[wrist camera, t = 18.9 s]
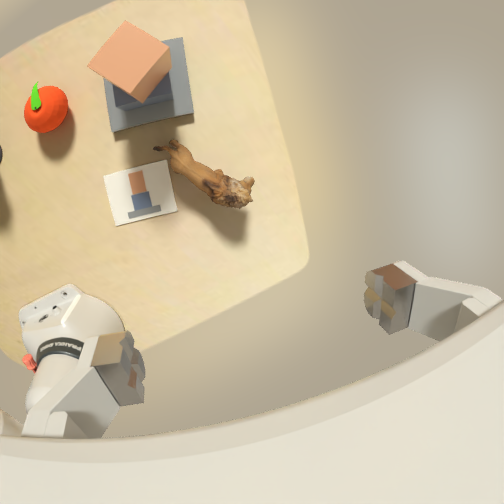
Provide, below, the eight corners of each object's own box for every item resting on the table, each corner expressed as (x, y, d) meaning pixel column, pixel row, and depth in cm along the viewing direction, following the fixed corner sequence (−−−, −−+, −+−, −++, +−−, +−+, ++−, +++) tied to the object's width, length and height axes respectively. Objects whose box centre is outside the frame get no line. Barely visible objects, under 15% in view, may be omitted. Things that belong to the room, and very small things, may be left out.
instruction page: (116, 225, 43) (115, 226, 43) (103, 175, 40) (102, 176, 39) (177, 210, 44) (177, 211, 44) (166, 159, 41) (166, 159, 41)
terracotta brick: (142, 103, 30) (130, 93, 22) (108, 81, 28) (86, 65, 20) (172, 67, 30) (169, 46, 21) (137, 45, 27) (125, 20, 19)
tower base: (114, 132, 38) (99, 131, 30) (103, 59, 33) (88, 45, 26) (193, 113, 39) (195, 108, 32) (182, 40, 35) (183, 21, 27)
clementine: (32, 94, 31) (11, 90, 25) (69, 75, 32) (51, 67, 26) (41, 139, 35) (20, 141, 28) (78, 122, 36) (61, 120, 29)
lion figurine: (248, 174, 45) (265, 184, 37) (232, 205, 46) (245, 221, 38) (161, 132, 39) (157, 132, 31) (145, 165, 40) (138, 173, 32)
